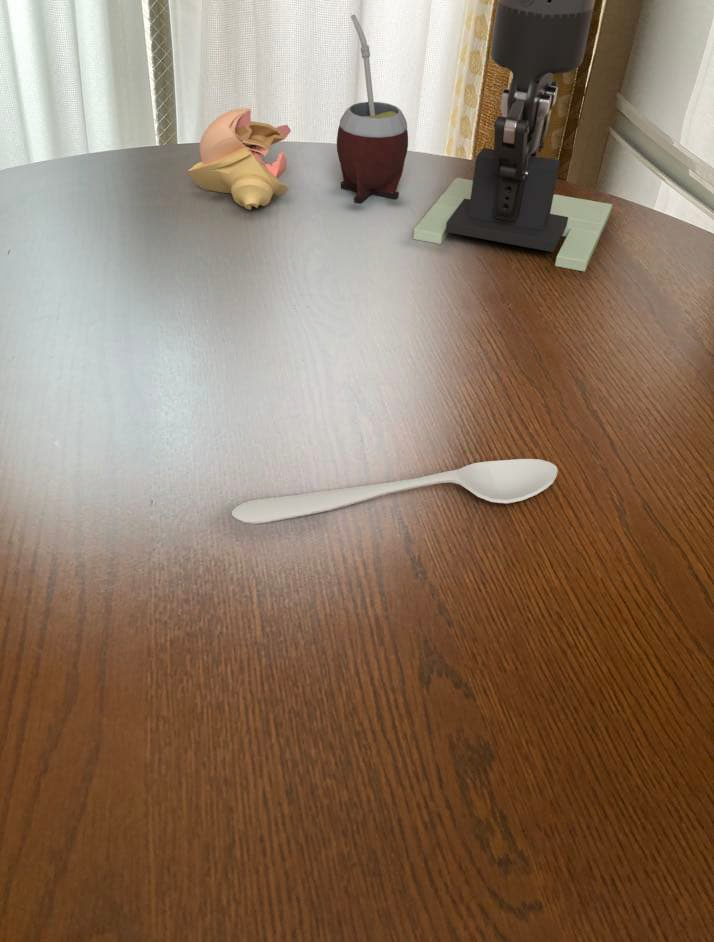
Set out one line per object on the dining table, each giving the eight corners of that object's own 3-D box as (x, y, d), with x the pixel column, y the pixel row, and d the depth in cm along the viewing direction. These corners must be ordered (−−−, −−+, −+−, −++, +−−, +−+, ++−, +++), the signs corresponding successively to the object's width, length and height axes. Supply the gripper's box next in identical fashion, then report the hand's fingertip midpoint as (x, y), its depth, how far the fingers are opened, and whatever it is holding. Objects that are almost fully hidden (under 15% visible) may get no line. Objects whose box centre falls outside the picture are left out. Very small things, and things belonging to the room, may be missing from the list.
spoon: (565, 506, 57) (570, 485, 56) (235, 538, 55) (234, 517, 54) (541, 466, 60) (546, 445, 59) (228, 494, 58) (227, 474, 57)
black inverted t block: (570, 219, 87) (585, 148, 83) (553, 252, 82) (568, 179, 78) (468, 201, 90) (477, 132, 86) (445, 232, 85) (454, 160, 80)
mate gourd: (388, 211, 91) (401, 43, 81) (315, 196, 93) (319, 31, 83) (414, 185, 96) (430, 24, 86) (345, 171, 98) (352, 13, 88)
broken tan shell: (304, 219, 90) (245, 164, 83) (224, 249, 96) (162, 200, 88) (307, 139, 93) (249, 79, 85) (229, 173, 98) (168, 120, 90)
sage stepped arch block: (610, 213, 91) (612, 203, 91) (584, 272, 82) (587, 261, 81) (454, 186, 96) (456, 177, 95) (412, 239, 86) (414, 228, 85)
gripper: (577, 23, 67) (533, 250, 78) (608, -15, 76) (565, 193, 88) (476, 11, 69) (448, 234, 81) (519, -24, 78) (488, 179, 90)
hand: (509, 211), depth 84 cm, fingers closed on black inverted t block, 2 cm apart
